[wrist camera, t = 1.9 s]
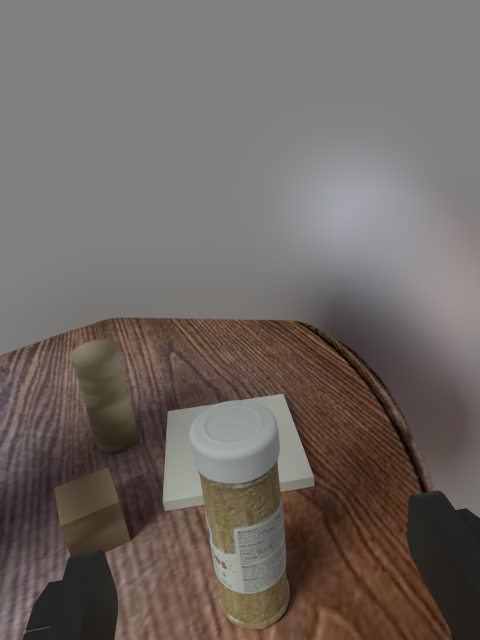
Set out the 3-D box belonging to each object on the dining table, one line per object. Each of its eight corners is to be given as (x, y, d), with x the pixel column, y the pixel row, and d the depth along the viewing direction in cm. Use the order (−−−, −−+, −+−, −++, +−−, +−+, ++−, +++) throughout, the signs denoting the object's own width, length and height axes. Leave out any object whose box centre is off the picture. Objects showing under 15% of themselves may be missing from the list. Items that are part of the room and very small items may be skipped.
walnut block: (75, 567, 31) (59, 526, 30) (68, 526, 34) (54, 487, 33) (131, 541, 33) (119, 501, 31) (119, 504, 36) (108, 467, 34)
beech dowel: (93, 456, 42) (66, 363, 37) (101, 429, 45) (76, 343, 41) (136, 449, 42) (113, 357, 38) (140, 423, 45) (119, 337, 41)
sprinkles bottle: (210, 578, 29) (179, 410, 24) (274, 553, 30) (257, 388, 25) (232, 647, 25) (200, 465, 20) (304, 616, 26) (293, 436, 21)
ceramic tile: (164, 511, 35) (162, 501, 34) (169, 419, 46) (167, 411, 45) (314, 486, 36) (314, 477, 35) (283, 401, 46) (283, 393, 46)
